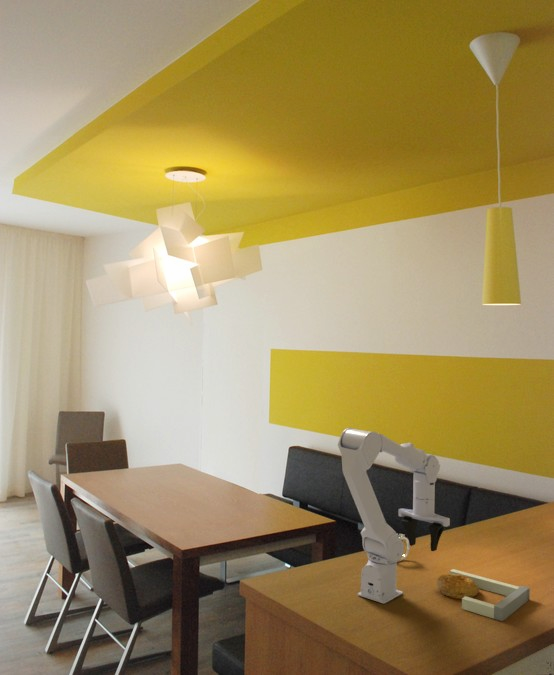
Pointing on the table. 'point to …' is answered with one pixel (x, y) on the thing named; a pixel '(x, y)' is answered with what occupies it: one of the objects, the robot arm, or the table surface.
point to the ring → (405, 545)
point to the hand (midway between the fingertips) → (422, 547)
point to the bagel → (457, 586)
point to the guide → (505, 606)
